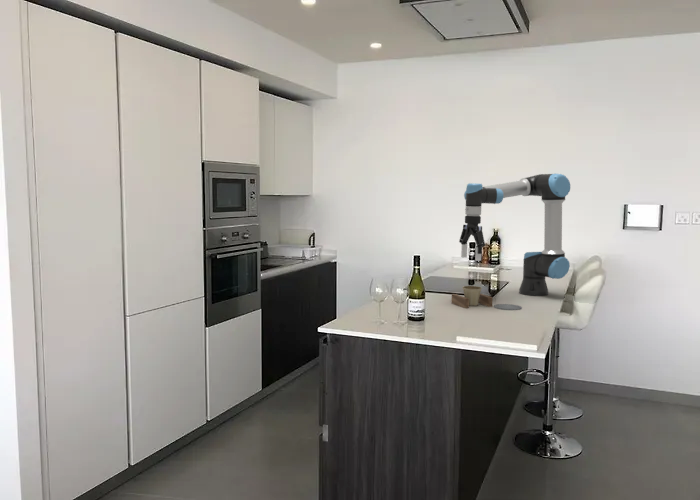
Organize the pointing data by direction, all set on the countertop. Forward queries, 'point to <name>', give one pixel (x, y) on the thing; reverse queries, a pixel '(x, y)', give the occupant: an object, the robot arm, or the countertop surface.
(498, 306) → the disc
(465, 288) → the flower pot
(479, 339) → the countertop surface
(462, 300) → the slot holder
